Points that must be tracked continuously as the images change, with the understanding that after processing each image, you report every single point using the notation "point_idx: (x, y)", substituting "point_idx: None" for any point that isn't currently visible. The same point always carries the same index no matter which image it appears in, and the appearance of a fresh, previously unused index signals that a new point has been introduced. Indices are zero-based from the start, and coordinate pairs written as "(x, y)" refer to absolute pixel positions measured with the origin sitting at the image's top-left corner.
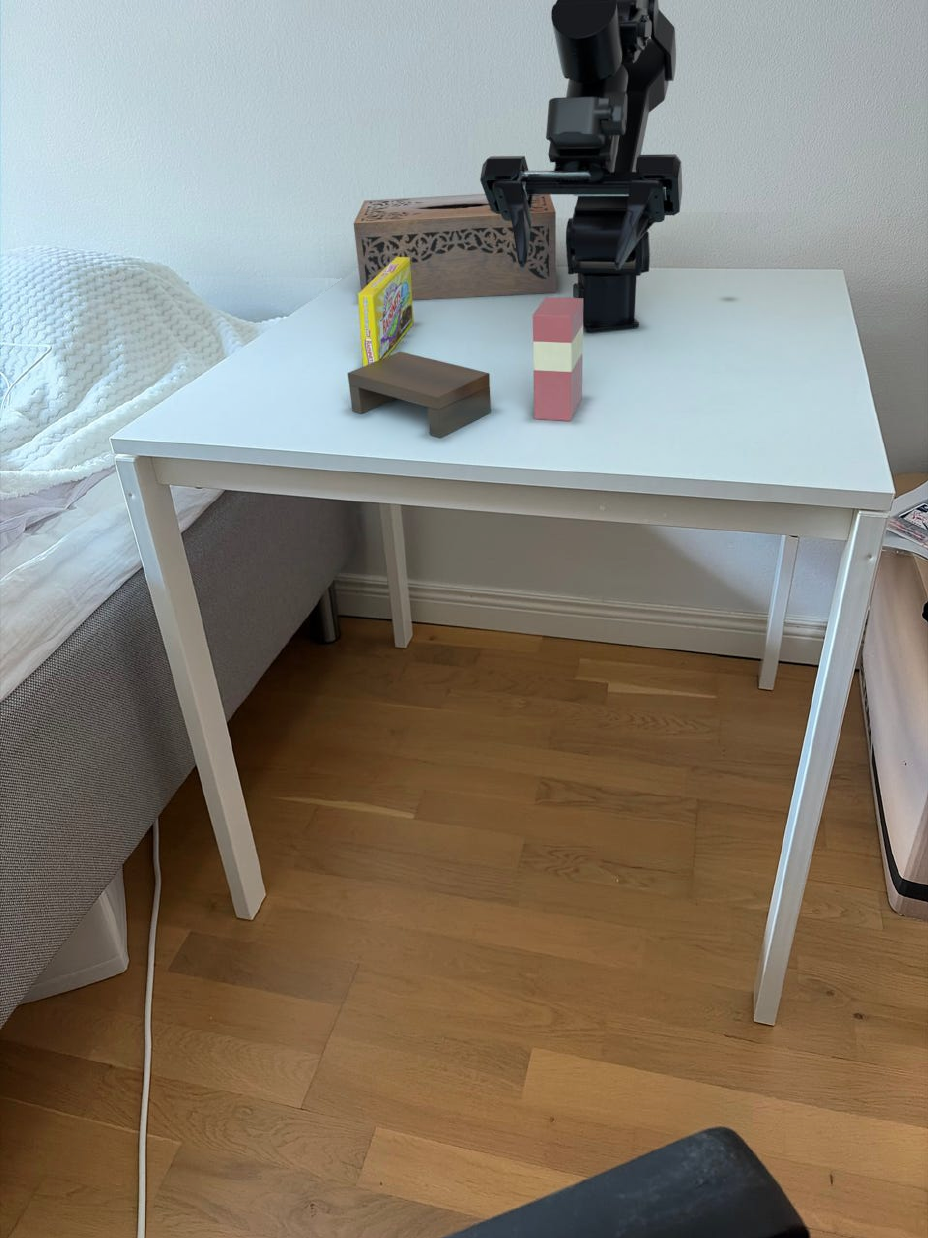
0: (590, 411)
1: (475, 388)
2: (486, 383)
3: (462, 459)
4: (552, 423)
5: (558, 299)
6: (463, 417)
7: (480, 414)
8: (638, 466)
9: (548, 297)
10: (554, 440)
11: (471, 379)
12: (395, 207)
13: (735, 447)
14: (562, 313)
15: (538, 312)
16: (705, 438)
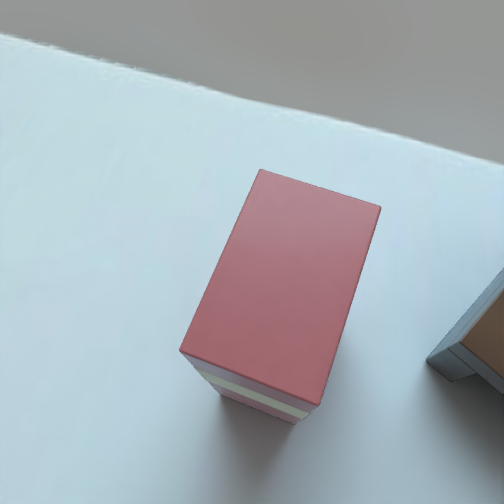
0: None
1: (483, 307)
2: (458, 335)
3: (464, 167)
4: None
5: (273, 359)
6: (486, 291)
7: (449, 332)
8: (192, 108)
9: (309, 397)
10: None
11: (502, 306)
12: None
13: (31, 142)
14: (283, 197)
15: (361, 226)
16: (59, 177)
